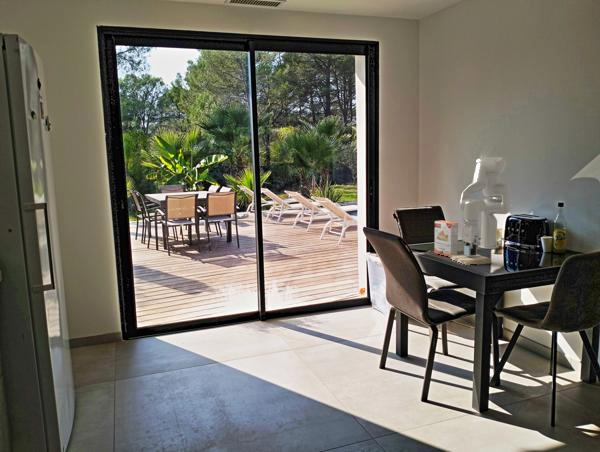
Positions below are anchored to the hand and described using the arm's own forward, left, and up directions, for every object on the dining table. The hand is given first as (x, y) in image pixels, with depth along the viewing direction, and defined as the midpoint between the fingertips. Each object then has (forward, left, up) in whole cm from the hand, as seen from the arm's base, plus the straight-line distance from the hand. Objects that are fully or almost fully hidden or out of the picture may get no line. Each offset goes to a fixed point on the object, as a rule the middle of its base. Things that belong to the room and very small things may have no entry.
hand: (470, 253), depth 277 cm
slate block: (0, 0, -1) cm, 1 cm away
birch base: (0, 0, -4) cm, 4 cm away
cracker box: (-18, -5, -5) cm, 19 cm away
